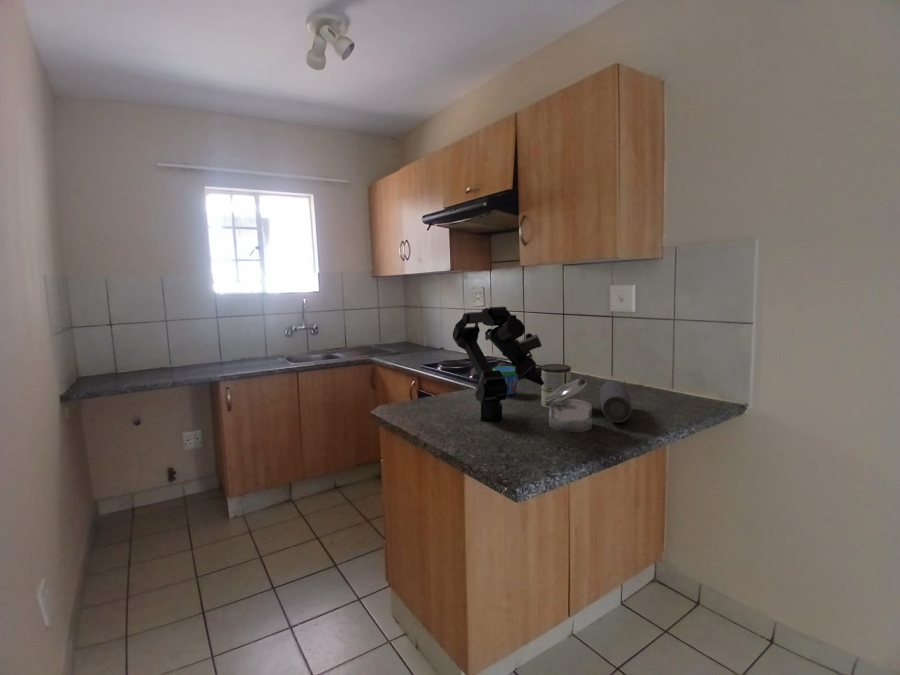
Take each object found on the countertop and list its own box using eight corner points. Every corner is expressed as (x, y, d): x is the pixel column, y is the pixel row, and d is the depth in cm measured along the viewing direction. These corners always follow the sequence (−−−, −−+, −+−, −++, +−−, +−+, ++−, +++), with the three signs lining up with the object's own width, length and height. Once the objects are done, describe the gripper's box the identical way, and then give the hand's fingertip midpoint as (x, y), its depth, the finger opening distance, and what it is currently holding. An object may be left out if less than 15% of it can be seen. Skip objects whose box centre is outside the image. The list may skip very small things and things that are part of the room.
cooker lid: (548, 409, 129) (543, 402, 129) (545, 398, 142) (541, 391, 142) (590, 387, 126) (586, 380, 126) (583, 378, 139) (580, 371, 139)
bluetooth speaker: (633, 428, 132) (634, 395, 131) (600, 425, 135) (601, 393, 134) (626, 407, 154) (627, 379, 153) (598, 405, 157) (599, 378, 155)
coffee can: (539, 401, 164) (539, 363, 162) (567, 401, 163) (568, 363, 161) (542, 409, 153) (542, 369, 152) (572, 409, 152) (573, 369, 151)
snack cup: (487, 397, 171) (486, 371, 169) (486, 390, 181) (485, 366, 180) (527, 396, 170) (527, 371, 169) (524, 390, 180) (524, 365, 179)
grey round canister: (550, 431, 130) (550, 409, 129) (547, 418, 142) (547, 398, 141) (594, 433, 128) (595, 410, 127) (588, 420, 140) (588, 399, 139)
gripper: (528, 330, 124) (566, 370, 125) (524, 322, 142) (557, 356, 143) (499, 356, 126) (537, 395, 127) (498, 345, 144) (531, 379, 145)
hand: (541, 380), depth 135 cm, fingers open, 9 cm apart
